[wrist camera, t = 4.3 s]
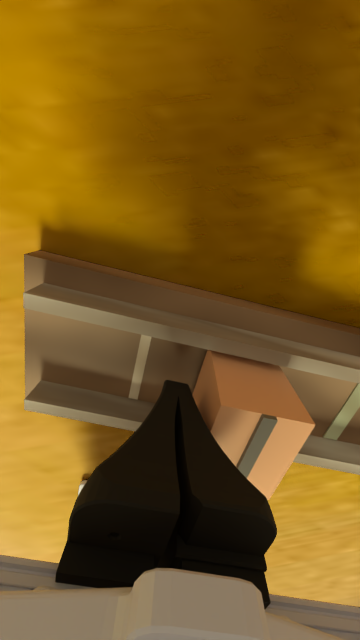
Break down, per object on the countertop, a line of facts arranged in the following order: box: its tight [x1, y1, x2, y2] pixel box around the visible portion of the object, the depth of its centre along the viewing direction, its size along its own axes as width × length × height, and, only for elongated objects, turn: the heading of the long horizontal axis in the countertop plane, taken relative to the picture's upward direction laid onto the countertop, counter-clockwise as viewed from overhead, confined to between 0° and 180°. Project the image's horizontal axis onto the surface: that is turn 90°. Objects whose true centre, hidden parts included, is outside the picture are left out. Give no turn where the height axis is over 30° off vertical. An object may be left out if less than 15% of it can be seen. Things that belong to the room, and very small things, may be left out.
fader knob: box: [193, 350, 315, 500], centre depth 13 cm, size 5×4×5 cm
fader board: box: [24, 250, 360, 475], centre depth 16 cm, size 10×28×3 cm, turn 76°
